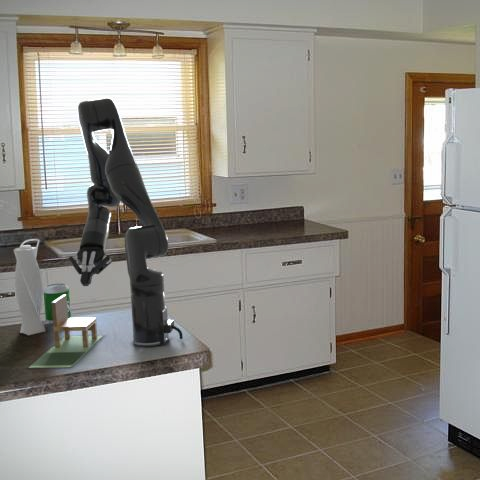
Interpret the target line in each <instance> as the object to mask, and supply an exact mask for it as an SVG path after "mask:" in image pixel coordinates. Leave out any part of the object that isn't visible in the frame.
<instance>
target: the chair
mask: <svg viewBox="0 0 480 480" xmlns="http://www.w3.org/2000/svg"><path fill="white" fill-rule="evenodd" d="M52 313H53V325H52V326H53V336H54V345H55V348H60V347H61V342H60V340H61V332H64V337H65V339H70V336H71V332H81V336H82V338H83V347H88V346H89V343H88V336H89V331H90V333H91V336H92V339H96V338H97V336H98V329H97V317H71V318H68V309H67V296H66V295H62V296H60V297H59V298H58V299H56V300H55V301H53V302H52Z"/></svg>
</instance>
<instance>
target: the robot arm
mask: <svg viewBox="0 0 480 480" xmlns="http://www.w3.org/2000/svg"><path fill="white" fill-rule="evenodd" d="M77 117H78V124H79V127H80V131H81V136H82V139H83V143H84V147H85V151H86V154H87V159H88V164H89V166H88V167H89V177H90V180H91V182H92V184H91V185H90V186H89V187H88V188H87V189H86V200H87V205H88V206H87V207H88V209H87V210H88V212H87V217H86V221H85V225H84V227H83V230H82V231H83V232H82V236H81V239H80V245H79V250H78V251H77V253H76V255H75V256H68V259H69V262H70V264H71V265H72V267H73V268H74V269H75V271H76V273H77V274H78V275H80V278H79V279H80V280H79V282H80V284H81V285H82V286H83V287H89V285H91V284H92V280H93V276H94V275H100V274H101V273H102V272H103V271H104V270H105V269H106V268H107V267H108V266H109V265H111V264H112V259H111V258H110V256H109V255H107V254H106V250H107V245H108V239H109V233H110V225H111V220H112V211H111V210H110V209H109V208H116V207H118V206H119V205H120V203H122V204H123V205H125V206H126V207H127V208H128V209H129V210H130V211H131V212H132V213H134V215H135V216H136V217H137V219H138V220H139V222H140V224H141V226H134V227H129V228H128V229H127V230H126V232H125V235H124V250H125V251H124V252H125V259H126V268H127V274H128V277H129V284H130V285H129V287H130V289H129V290H130V304H131V320H132V321H131V322H132V338H133V339H132V343H133V345H134V346H138V347H145V348H147V347H149V348H150V347H156V346H163V345H166V343H167V342H168V340H169V338H170V337H169V334H171V333H172V332H173V330H175V331H177V333H178V334H179V335H178V336H179V339H180V340H182V339H183V336H184V335H183V332H182V330H181V329H180V328H179V327H177V326H176V325H175V320H174V319H168V317H169V316H168V306H166V299H165V297H166V295H165V278H164V273H163V272H162V271H161V270H159V269H153V268H150V267H148V264H147V260H150V259H156V258H161V257H164V256H165V255H167V253H168V252H169V247H170V246H169V238H168V235H167V233H166V230H165V228H164V225H163V222H162V221H161V219H160V217H159V216H158V213H157V211H156V209H155V208H154V205H153V203H152V201H151V198H150V196H149V194H148V191H147V188H146V185H145V181H144V179H143V177H142V174H141V171H140V169H139V165H138V163H137V162H136V159H135V157H134V154H133V152H132V149H131V147H130V143H129V142H128V139H127V135H126V132H125V128H124V125H123V122H122V118H121V115H120V111H119V109H118V106H117V104H116V103H115V101H114V99H113V98H111V97H108V96H107V97H106V96H105V97H101V98H100V97H99V98H94V99H89V100H84V101H81V102H79V104H78V106H77ZM108 130H110V131H111V134H112V139H111V145H110V150H109V151H107V150H106V149H105V147H103V146H102V144H100V143H99V142H98V140H97V139H96V137H95V135H94V133H97V132H102V131H108ZM79 261H80V263H81V266H80V265H79Z"/></svg>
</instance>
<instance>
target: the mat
mask: <svg viewBox="0 0 480 480" xmlns="http://www.w3.org/2000/svg"><path fill="white" fill-rule="evenodd" d="M102 337H104V335H101V334H100V335H97V338H96V339H92V335H88V343H89V346H88V347H83V338H82V335H70V339H65V336H64V337H62V339H60V342H61V347H60V348H55V344H54V345H53V346H52V347H51V348H50V349H48V350H47V351H46V352H44V354H42V356H40V357H39V358H38V359H36V360H35V361H34V362H33V363H32V364H30V365H29V366H28V369H71V368H73V366H75V364H76V363H77V362H78V361H79V360H80V359H81V358H83V356H84V355H85V354H86V353H87V352H89V350H90V349H91V348H92V347H93V346H94V345H95V344H96V343H97V342H98V341H99V340H100V339H101V338H102Z"/></svg>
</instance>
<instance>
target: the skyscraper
mask: <svg viewBox="0 0 480 480" xmlns="http://www.w3.org/2000/svg"><path fill="white" fill-rule="evenodd" d="M31 241H32V242H33V241H36V242H37V243H36V246H32V245H31V244H26V243H27V242H31ZM40 241H41V240H40V239H39V238H30V239H26V240H24V241H23V242H22V243H21V244H20V245H19V247H16V248H14V249H13V253H14V256H15V259H16V264H15V271H14V287H15V288H14V289H15V294H16V295H15V296H16V302H17V305H18V309H19V313H20V317H21V320H22V321H21V325H20V330H19V333H20V334H24V335H27V336H32V335H35V334H36V335H37V334H40V333H44V332H46V328H45V326H44V324H43V321H42V319H41V315H42V308H43V301H44V292H43V290H44V286H43V285H44V284H43V277H42V273H41V269H40V266H39V263H38V260H37V255H38V251H39V250H38V249H39V245H40Z"/></svg>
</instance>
